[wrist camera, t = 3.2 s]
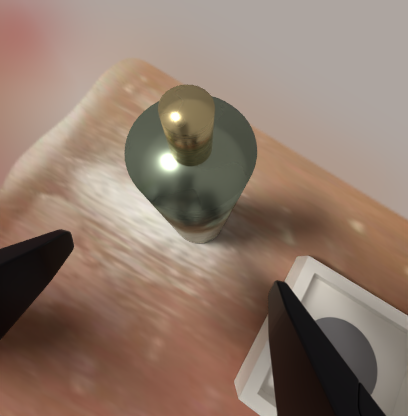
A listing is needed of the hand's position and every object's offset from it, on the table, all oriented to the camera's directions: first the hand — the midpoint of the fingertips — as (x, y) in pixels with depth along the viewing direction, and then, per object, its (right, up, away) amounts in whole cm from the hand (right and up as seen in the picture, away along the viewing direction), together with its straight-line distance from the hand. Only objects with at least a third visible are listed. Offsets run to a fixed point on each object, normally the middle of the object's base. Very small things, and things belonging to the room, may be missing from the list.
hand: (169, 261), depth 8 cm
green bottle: (+1, +1, +12) cm, 12 cm away
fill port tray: (+12, -10, +8) cm, 18 cm away
